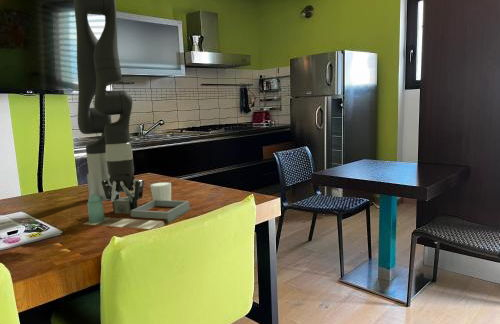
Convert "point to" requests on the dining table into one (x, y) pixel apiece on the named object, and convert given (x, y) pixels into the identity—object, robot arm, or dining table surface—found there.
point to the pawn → (95, 209)
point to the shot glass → (161, 191)
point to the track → (121, 222)
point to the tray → (171, 215)
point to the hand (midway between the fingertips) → (125, 212)
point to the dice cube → (122, 205)
